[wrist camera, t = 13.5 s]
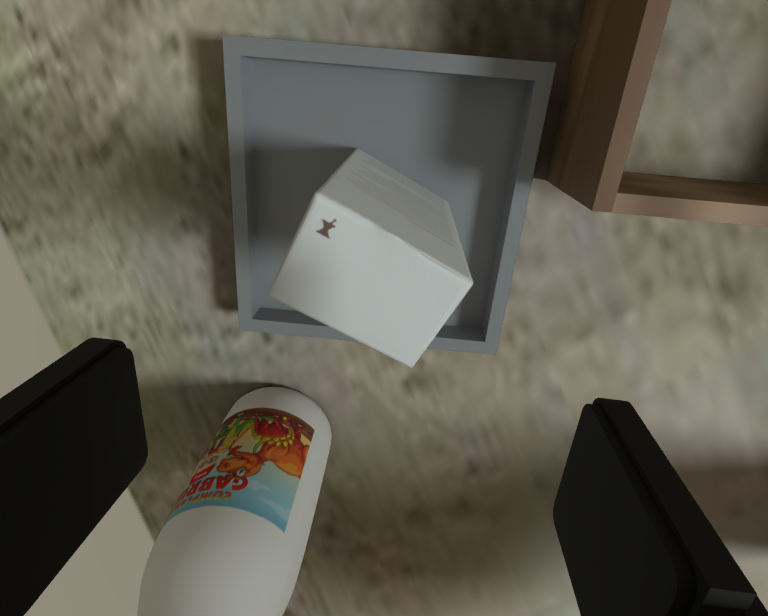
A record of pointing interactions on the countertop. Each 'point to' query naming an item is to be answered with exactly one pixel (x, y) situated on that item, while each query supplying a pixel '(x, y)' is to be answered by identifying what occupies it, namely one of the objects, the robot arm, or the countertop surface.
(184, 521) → the milk bottle
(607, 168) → the walnut bin
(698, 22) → the countertop surface
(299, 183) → the grey tray
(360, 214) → the skincare box
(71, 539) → the robot arm
